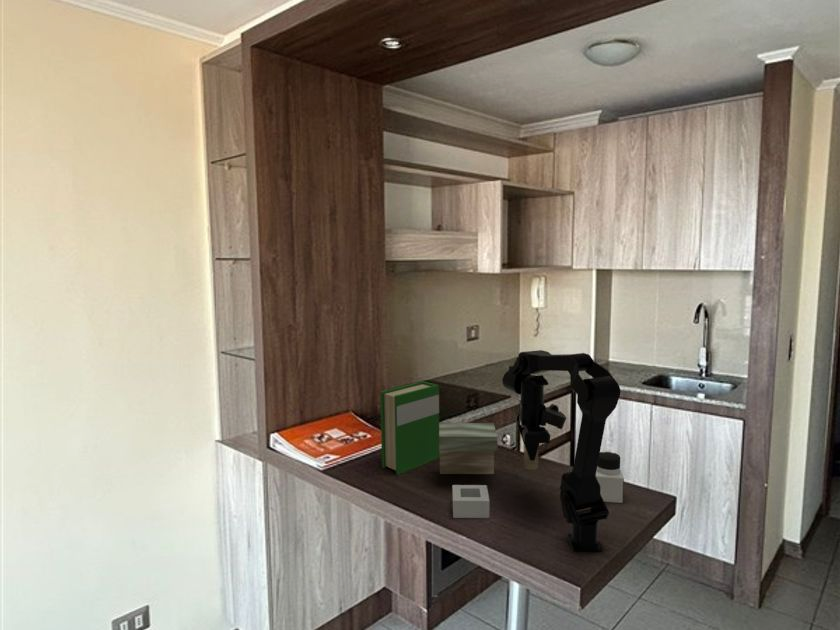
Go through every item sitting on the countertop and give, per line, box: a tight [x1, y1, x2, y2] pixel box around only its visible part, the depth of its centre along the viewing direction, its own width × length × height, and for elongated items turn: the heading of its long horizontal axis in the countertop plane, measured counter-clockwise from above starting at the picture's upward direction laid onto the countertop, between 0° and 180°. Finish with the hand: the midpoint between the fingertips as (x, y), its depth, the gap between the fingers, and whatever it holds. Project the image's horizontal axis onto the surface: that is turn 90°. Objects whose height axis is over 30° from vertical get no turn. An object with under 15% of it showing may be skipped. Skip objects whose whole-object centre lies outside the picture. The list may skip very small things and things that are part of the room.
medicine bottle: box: [596, 450, 625, 504], centre depth 147 cm, size 7×7×12 cm
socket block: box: [452, 484, 490, 519], centre depth 141 cm, size 9×9×4 cm
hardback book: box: [379, 380, 440, 475], centre depth 171 cm, size 18×7×24 cm, turn 134°
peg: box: [523, 445, 539, 470], centre depth 143 cm, size 4×4×9 cm
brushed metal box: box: [439, 422, 498, 475], centre depth 158 cm, size 12×16×15 cm
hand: (531, 457), depth 143 cm, fingers closed on peg, 3 cm apart
